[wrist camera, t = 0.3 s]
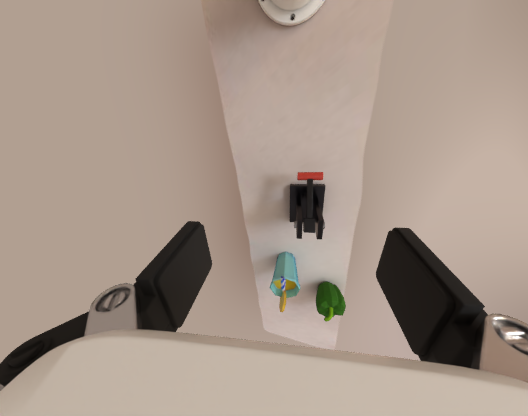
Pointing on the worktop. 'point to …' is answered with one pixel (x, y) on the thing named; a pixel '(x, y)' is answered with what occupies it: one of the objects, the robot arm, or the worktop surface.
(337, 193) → the worktop surface
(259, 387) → the robot arm
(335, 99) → the worktop surface
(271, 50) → the worktop surface
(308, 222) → the lever
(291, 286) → the cup
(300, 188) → the bracket
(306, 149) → the worktop surface
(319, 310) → the bell pepper
